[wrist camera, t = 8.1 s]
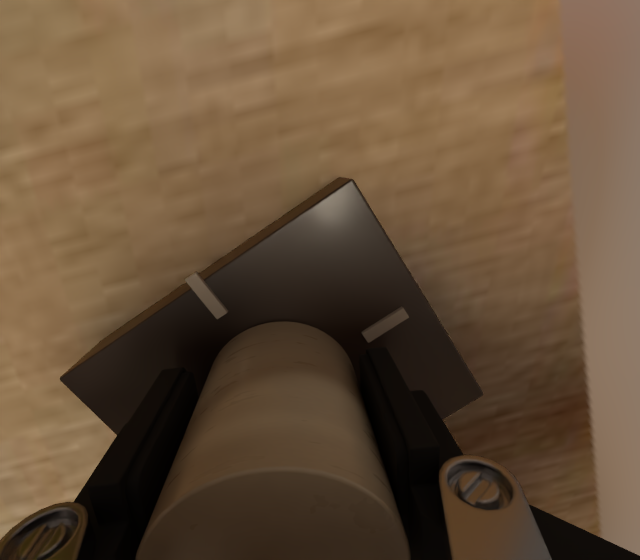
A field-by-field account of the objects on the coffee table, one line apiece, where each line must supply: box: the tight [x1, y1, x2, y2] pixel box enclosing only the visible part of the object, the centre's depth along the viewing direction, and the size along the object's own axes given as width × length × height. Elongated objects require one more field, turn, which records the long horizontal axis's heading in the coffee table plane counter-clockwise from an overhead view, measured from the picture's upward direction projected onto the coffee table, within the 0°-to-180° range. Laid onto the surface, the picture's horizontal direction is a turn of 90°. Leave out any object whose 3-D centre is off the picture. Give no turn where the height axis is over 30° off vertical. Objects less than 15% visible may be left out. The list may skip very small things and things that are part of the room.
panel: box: [60, 177, 483, 435], centre depth 12 cm, size 10×9×3 cm
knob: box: [135, 321, 411, 560], centre depth 8 cm, size 4×4×6 cm
